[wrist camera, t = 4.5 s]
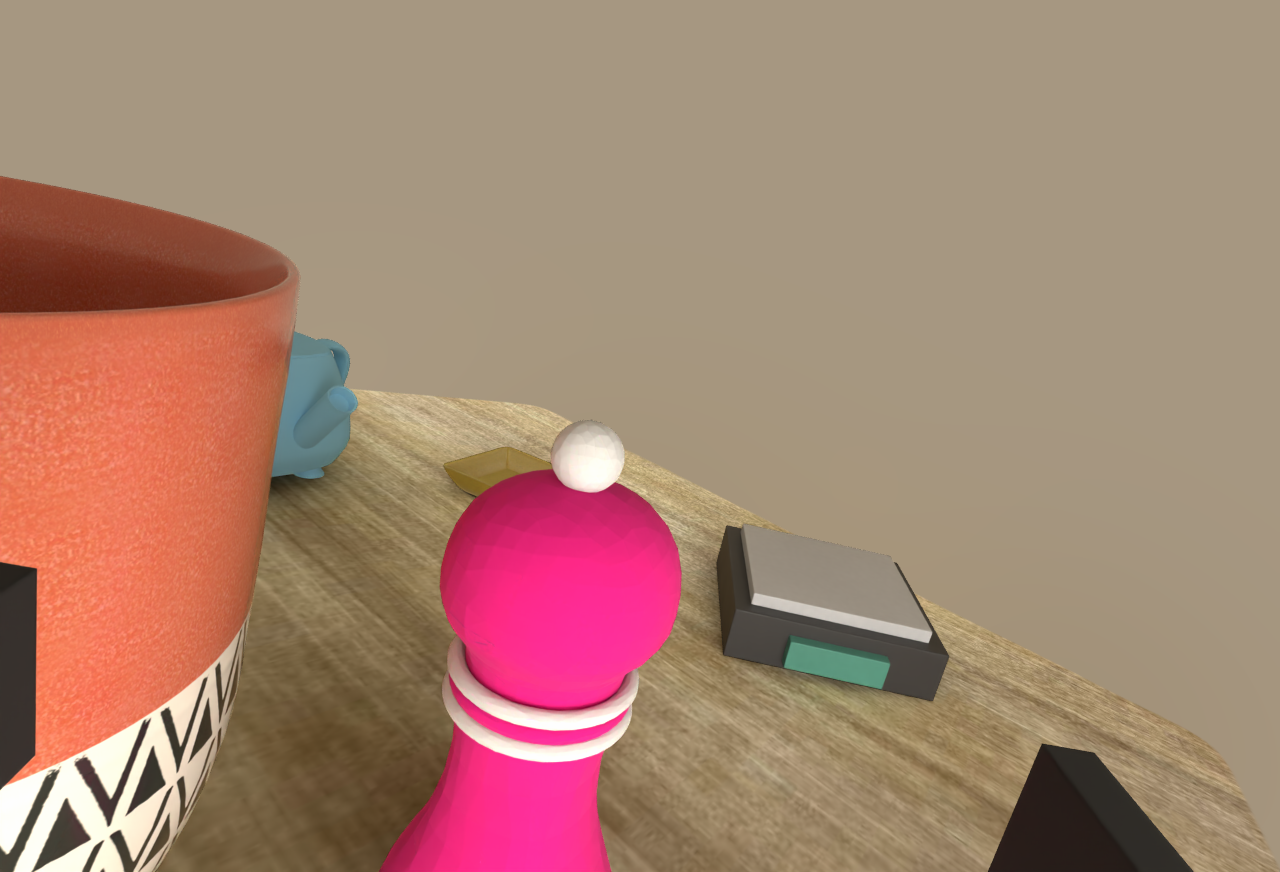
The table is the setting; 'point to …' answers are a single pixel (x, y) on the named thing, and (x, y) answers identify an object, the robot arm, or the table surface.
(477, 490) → the saucer
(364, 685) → the table surface
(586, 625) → the pepper mill
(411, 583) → the table surface
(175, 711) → the planter
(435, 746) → the table surface
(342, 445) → the teapot
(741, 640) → the scale
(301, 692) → the table surface
